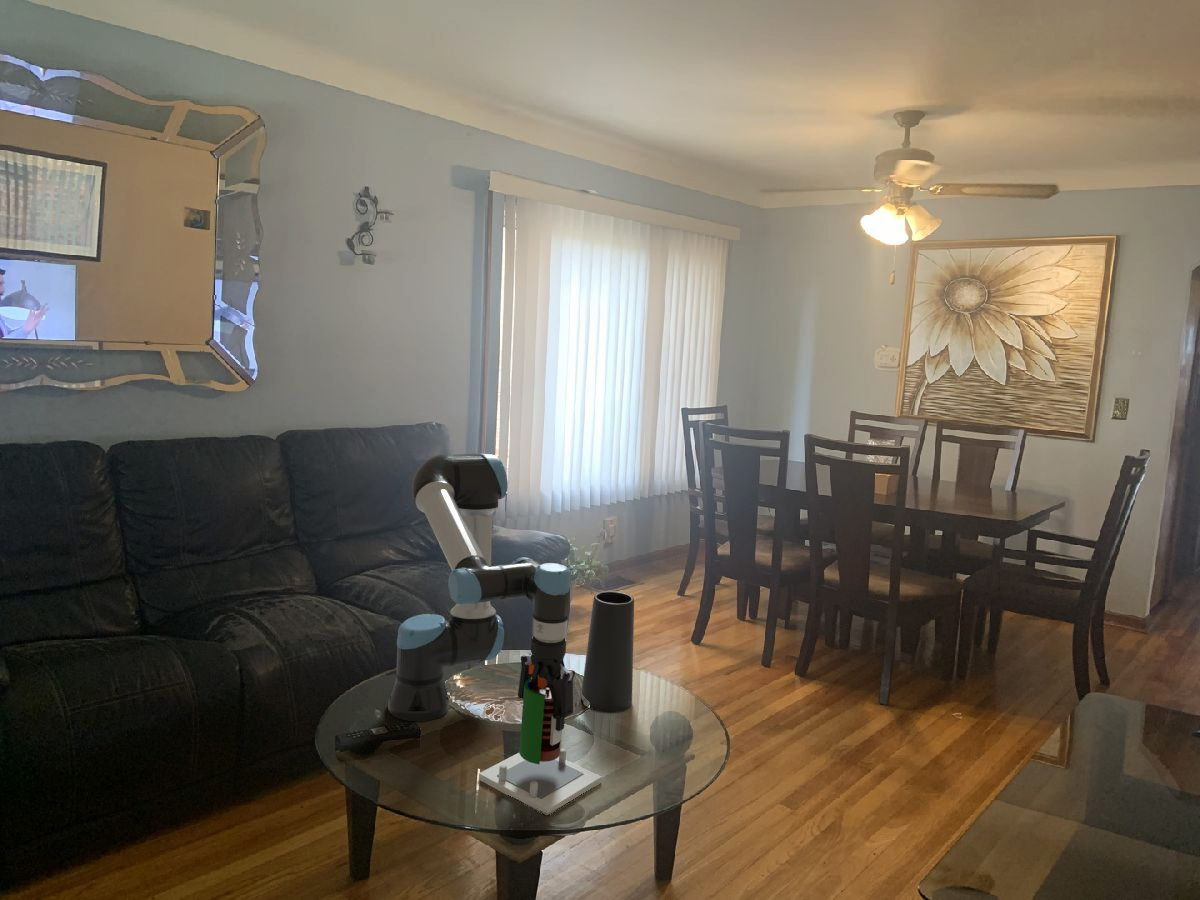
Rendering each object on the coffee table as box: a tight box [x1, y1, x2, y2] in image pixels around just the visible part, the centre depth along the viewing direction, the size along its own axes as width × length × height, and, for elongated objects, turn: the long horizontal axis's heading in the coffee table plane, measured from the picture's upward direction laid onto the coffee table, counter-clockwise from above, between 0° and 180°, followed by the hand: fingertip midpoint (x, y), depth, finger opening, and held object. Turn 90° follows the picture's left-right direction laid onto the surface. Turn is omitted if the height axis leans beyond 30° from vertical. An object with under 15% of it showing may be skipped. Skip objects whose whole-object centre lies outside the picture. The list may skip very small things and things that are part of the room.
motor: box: [518, 663, 563, 764], centre depth 193 cm, size 10×9×20 cm
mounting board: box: [478, 748, 602, 813], centre depth 195 cm, size 20×18×4 cm
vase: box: [581, 590, 635, 714], centre depth 234 cm, size 14×14×29 cm
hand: (542, 736), depth 193 cm, fingers closed on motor, 6 cm apart
